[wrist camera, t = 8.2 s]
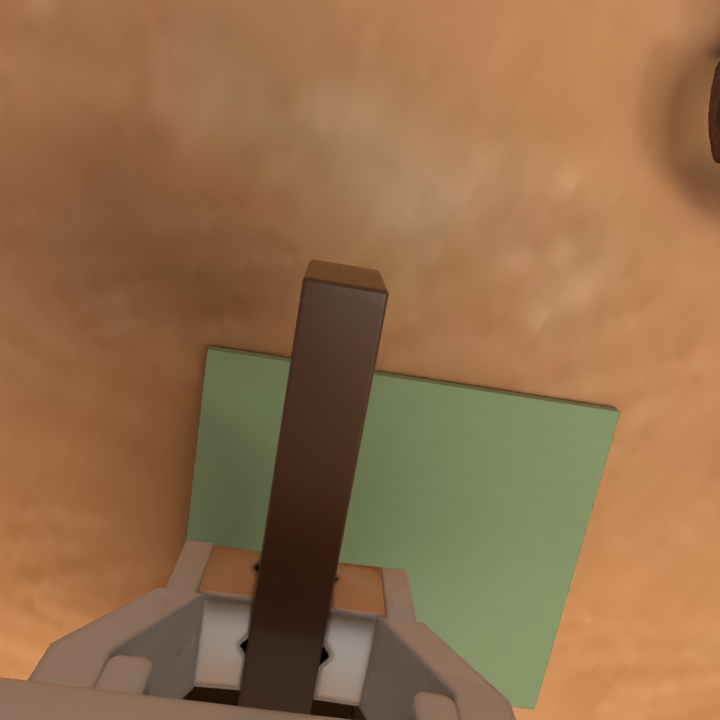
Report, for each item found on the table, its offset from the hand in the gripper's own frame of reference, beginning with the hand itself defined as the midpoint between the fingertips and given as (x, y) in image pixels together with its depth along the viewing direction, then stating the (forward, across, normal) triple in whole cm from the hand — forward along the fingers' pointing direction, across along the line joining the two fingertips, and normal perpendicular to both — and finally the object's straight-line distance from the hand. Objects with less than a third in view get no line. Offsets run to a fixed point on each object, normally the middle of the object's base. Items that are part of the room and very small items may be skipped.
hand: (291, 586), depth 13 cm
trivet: (+17, -4, +8) cm, 19 cm away
